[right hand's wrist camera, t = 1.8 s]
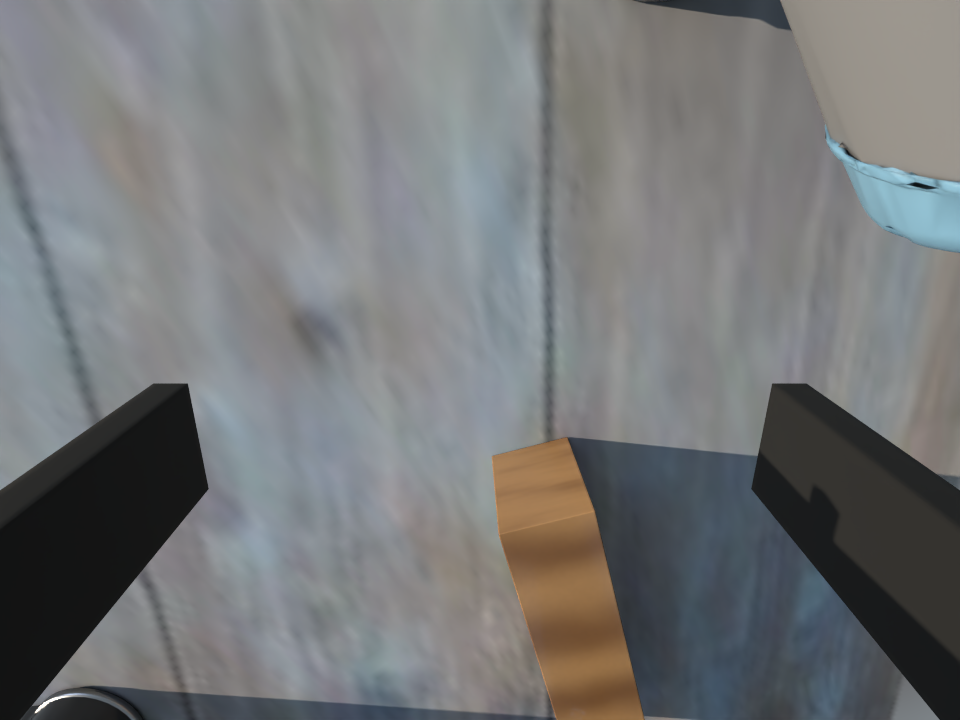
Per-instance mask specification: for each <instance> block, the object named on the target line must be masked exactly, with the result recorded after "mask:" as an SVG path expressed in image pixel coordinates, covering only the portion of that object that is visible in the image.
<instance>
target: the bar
mask: <svg viewBox="0 0 960 720" xmlns="http://www.w3.org/2000/svg"><path fill="white" fill-rule="evenodd" d="M492 464H493V475H494V487H495V498H496V509H497V520H498V532H499V537H500V540H501V543H502V547H503V550H504V553H505V556H506V559H507V563H508V566H509V569H510V572H511V575H512V579H513V582H514V585H515V588H516V591H517V595H518V598H519V601H520V604H521V607H522V611H523V614H524V617H525V620H526V623H527V627H528V630H529V633H530V636H531V639H532V643H533V646H534V649H535V652H536V655H537V659H538V662H539V665H540V668H541V671H542V674H543V678H544V681H545V684H546V687H547V690H548V694H549V697H550V700H551V703H552V706H553V710H554V713H555V716H556V719H557V720H645V719H644V715H643V711H642V706H641V702H640V698H639V694H638V690H637V685H636V681H635V677H634V673H633V669H632V664H631V660H630V656H629V652H628V648H627V643H626V639H625V635H624V631H623V627H622V622H621V618H620V614H619V610H618V606H617V601H616V597H615V593H614V589H613V585H612V580H611V576H610V572H609V568H608V564H607V559H606V555H605V551H604V547H603V543H602V538H601V534H600V530H599V526H598V522H597V517H596V513H595V510H594V507H593V504H592V502H591V499H590V496H589V494H588V491H587V488H586V486H585V483H584V480H583V478H582V475H581V472H580V470H579V467H578V464H577V462H576V459H575V456H574V454H573V451H572V448H571V445H570V443H569V440H568V438H567V437H566V438H562V439H558V440H554V441H550V442H546V443H542V444H538V445H534V446H530V447H526V448H522V449H518V450H515V451H511V452H507V453H503V454H499V455H495V456H492Z"/></svg>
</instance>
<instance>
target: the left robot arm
mask: <svg viewBox="0 0 960 720" xmlns="http://www.w3.org/2000/svg"><path fill="white" fill-rule="evenodd" d="M20 720H143V719H142V718H141V716H140V714H139V713H138V712H137V711H136V710H135V709H134V708H133V707H132V706H131V705H130V704H128V703H127V702H126V701H124V700H123V699H121V698H119V697H117V696H115V695H113V694H110V693H107V692H104V691H101V690H96V689H90V688H73V689H67V690H63V691H59V692H57V693H55V694H53V695H51V696H50V697H48V698H47V699H46V700H45V701H44V702H43V703H42V704H41V705H39V706H32V707H30V708H29V710H28V711H27V712H26V713H25V715H24V716H23V717H22V718H21V719H20Z"/></svg>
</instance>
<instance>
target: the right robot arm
mask: <svg viewBox="0 0 960 720" xmlns="http://www.w3.org/2000/svg"><path fill="white" fill-rule="evenodd" d="M636 1H643V2H662V1H671V0H636ZM780 1H781V4H782V6H783V9H784V12H785V14H786V17H787V19H788V22H789V25H790V27H791V30H792V33H793V35H794V38H795V41H796V44H797V46H798V49H799V52H800V55H801V57H802V60H803V63H804V66H805V69H806V71H807V74H808V77H809V80H810V82H811V85H812V88H813V91H814V94H815V96H816V99H817V102H818V105H819V108H820V110H821V113H822V116H823V119H824V121H825V131H826V140H827V144H828V146H829V148H830V149H831V151H832V152H833V153H834V155H835V156H836V157H837V158H838V159H839V160H840V161H842V162H843V164H844V166H845V169H846V171H847V173H848V175H849V178H850V180H851V182H852V184H853V187H854V189H855V191H856V193H857V196H858V198H859V200H860V202H861V204H862V206H863V208H864V209H865V211H866V213H867V214H868V215H869V216H870V217H871V218H872V220H873V221H874V222H876V223H877V224H878V225H879V226H881V227H882V228H883V229H885V230H886V231H889V232H891V233H894V234H896V235H899V236H902V237H905V238H908V239H909V240H910V241H912V242H913V243H916V244H918V245H922V246H925V247H929V248H934V249H939V250H945V251H950V252H957V253H960V0H780ZM207 490H208V484H207V479H206V474H205V468H204V463H203V458H202V453H201V448H200V443H199V438H198V433H197V428H196V423H195V418H194V413H193V408H192V403H191V398H190V393H189V388H188V384H152V385H151V386H149V387H148V388H147V389H145V390H144V391H142V392H141V393H139V394H138V395H137V396H135V397H134V398H132V399H131V400H129V401H128V402H126V403H125V404H124V405H122V406H121V407H119V408H118V409H116V410H115V411H114V412H112V413H111V414H109V415H108V416H106V417H105V418H104V419H102V420H101V421H99V422H98V423H96V424H95V425H93V426H92V427H91V428H89V429H88V430H86V431H85V432H83V433H82V434H81V435H79V436H78V437H76V438H75V439H73V440H72V441H71V442H69V443H68V444H66V445H65V446H63V447H62V448H60V449H59V450H58V451H56V452H55V453H53V454H52V455H50V456H49V457H48V458H46V459H45V460H43V461H42V462H40V463H39V464H37V465H36V466H35V467H33V468H32V469H30V470H29V471H27V472H26V473H25V474H23V475H22V476H20V477H19V478H17V479H16V480H15V481H13V482H12V483H10V484H9V485H7V486H6V487H4V488H3V489H2V490H0V720H20V719H21V718H22V717H23V716H24V715H25V713H26V712H27V711H28V710H29V708H30V707H31V706H32V705H33V703H34V702H35V701H36V700H37V699H38V697H39V696H40V695H41V694H42V692H43V691H44V690H45V689H46V688H47V686H48V685H49V684H50V683H51V681H52V680H53V679H54V678H55V677H56V675H57V674H58V673H59V672H60V670H61V669H62V668H63V667H64V666H65V664H66V663H67V662H68V661H69V659H70V658H71V657H72V656H73V654H74V653H75V652H76V651H77V650H78V648H79V647H80V646H81V645H82V643H83V642H84V641H85V640H86V639H87V637H88V636H89V635H90V634H91V632H92V631H93V630H94V629H95V628H96V626H97V625H98V624H99V623H100V621H101V620H102V619H103V618H104V616H105V615H106V614H107V613H108V612H109V610H110V609H111V608H112V607H113V605H114V604H115V603H116V602H117V601H118V599H119V598H120V597H121V596H122V594H123V593H124V592H125V591H126V590H127V588H128V587H129V586H130V585H131V583H132V582H133V581H134V580H135V578H136V577H137V576H138V575H139V574H140V572H141V571H142V570H143V569H144V567H145V566H146V565H147V564H148V563H149V561H150V560H151V559H152V558H153V556H154V555H155V554H156V553H157V552H158V550H159V549H160V548H161V547H162V545H163V544H164V543H165V542H166V540H167V539H168V538H169V537H170V536H171V534H172V533H173V532H174V531H175V529H176V528H177V527H178V526H179V525H180V523H181V522H182V521H183V520H184V518H185V517H186V516H187V515H188V514H189V512H190V511H191V510H192V509H193V507H194V506H195V505H196V504H197V503H198V501H199V500H200V499H201V498H202V496H203V495H204V494H205V493H206V491H207ZM752 490H753V491H754V493H755V494H756V495H757V496H758V498H759V499H760V500H761V501H762V503H763V504H764V505H765V506H766V507H767V509H768V510H769V511H770V512H771V514H772V515H773V516H774V517H775V518H776V520H777V521H778V522H779V523H780V525H781V526H782V527H783V528H784V529H785V531H786V532H787V533H788V534H789V536H790V537H791V538H792V539H793V540H794V542H795V543H796V544H797V545H798V547H799V548H800V549H801V550H802V552H803V553H804V554H805V555H806V556H807V558H808V559H809V560H810V561H811V563H812V564H813V565H814V566H815V567H816V569H817V570H818V571H819V572H820V574H821V575H822V576H823V577H824V578H825V580H826V581H827V582H828V583H829V585H830V586H831V587H832V588H833V590H834V591H835V592H836V593H837V594H838V596H839V597H840V598H841V599H842V601H843V602H844V603H845V604H846V605H847V607H848V608H849V609H850V610H851V612H852V613H853V614H854V615H855V616H856V618H857V619H858V620H859V621H860V623H861V624H862V625H863V626H864V628H865V629H866V630H867V631H868V632H869V634H870V635H871V636H872V637H873V639H874V640H875V641H876V642H877V643H878V645H879V646H880V647H881V648H882V650H883V651H884V652H885V653H886V654H887V656H888V657H889V658H890V659H891V661H892V662H893V663H894V664H895V666H896V667H897V668H898V669H899V670H900V672H901V673H902V674H903V675H904V677H905V678H906V679H907V680H908V681H909V683H910V684H911V685H912V686H913V688H914V689H915V690H916V691H917V692H918V694H919V695H920V696H921V697H922V699H923V700H924V701H925V702H926V703H927V705H928V706H929V707H930V708H931V710H932V711H933V712H934V713H935V715H936V716H937V717H938V718H939V719H940V720H960V490H958V489H957V488H956V487H954V486H953V485H951V484H950V483H948V482H947V481H945V480H944V479H943V478H941V477H940V476H938V475H937V474H935V473H934V472H933V471H931V470H930V469H928V468H927V467H925V466H924V465H923V464H921V463H920V462H918V461H917V460H915V459H914V458H912V457H911V456H910V455H908V454H907V453H905V452H904V451H902V450H901V449H900V448H898V447H897V446H895V445H894V444H892V443H891V442H889V441H888V440H887V439H885V438H884V437H882V436H881V435H879V434H878V433H877V432H875V431H874V430H872V429H871V428H869V427H868V426H867V425H865V424H864V423H862V422H861V421H859V420H858V419H856V418H855V417H854V416H852V415H851V414H849V413H848V412H846V411H845V410H844V409H842V408H841V407H839V406H838V405H836V404H835V403H834V402H832V401H831V400H829V399H828V398H826V397H825V396H823V395H822V394H821V393H819V392H818V391H816V390H815V389H813V388H812V387H811V386H809V385H808V384H772V388H771V393H770V398H769V403H768V408H767V413H766V418H765V423H764V428H763V433H762V438H761V443H760V448H759V453H758V458H757V463H756V468H755V474H754V479H753V484H752Z"/></svg>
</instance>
